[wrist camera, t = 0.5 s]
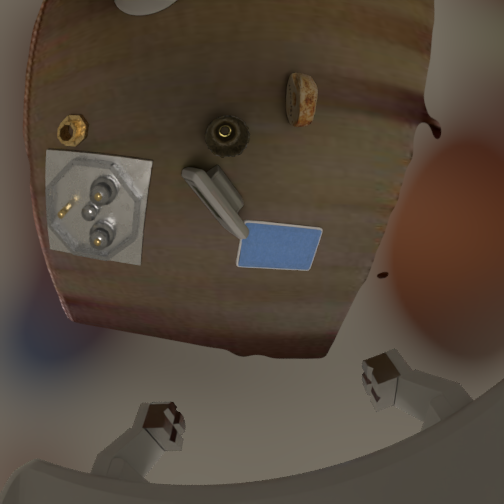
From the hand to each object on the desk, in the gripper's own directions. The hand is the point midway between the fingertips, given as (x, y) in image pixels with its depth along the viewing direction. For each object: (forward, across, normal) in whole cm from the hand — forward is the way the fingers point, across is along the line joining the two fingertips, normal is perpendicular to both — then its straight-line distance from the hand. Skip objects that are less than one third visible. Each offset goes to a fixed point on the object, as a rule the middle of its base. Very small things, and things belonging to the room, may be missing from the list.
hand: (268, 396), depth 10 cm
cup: (+46, 0, -17) cm, 49 cm away
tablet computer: (+56, -6, +11) cm, 57 cm away
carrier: (+47, +32, -11) cm, 58 cm away
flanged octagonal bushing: (+41, +29, -28) cm, 58 cm away
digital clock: (+50, +6, -6) cm, 50 cm away
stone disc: (+46, -14, -21) cm, 52 cm away
